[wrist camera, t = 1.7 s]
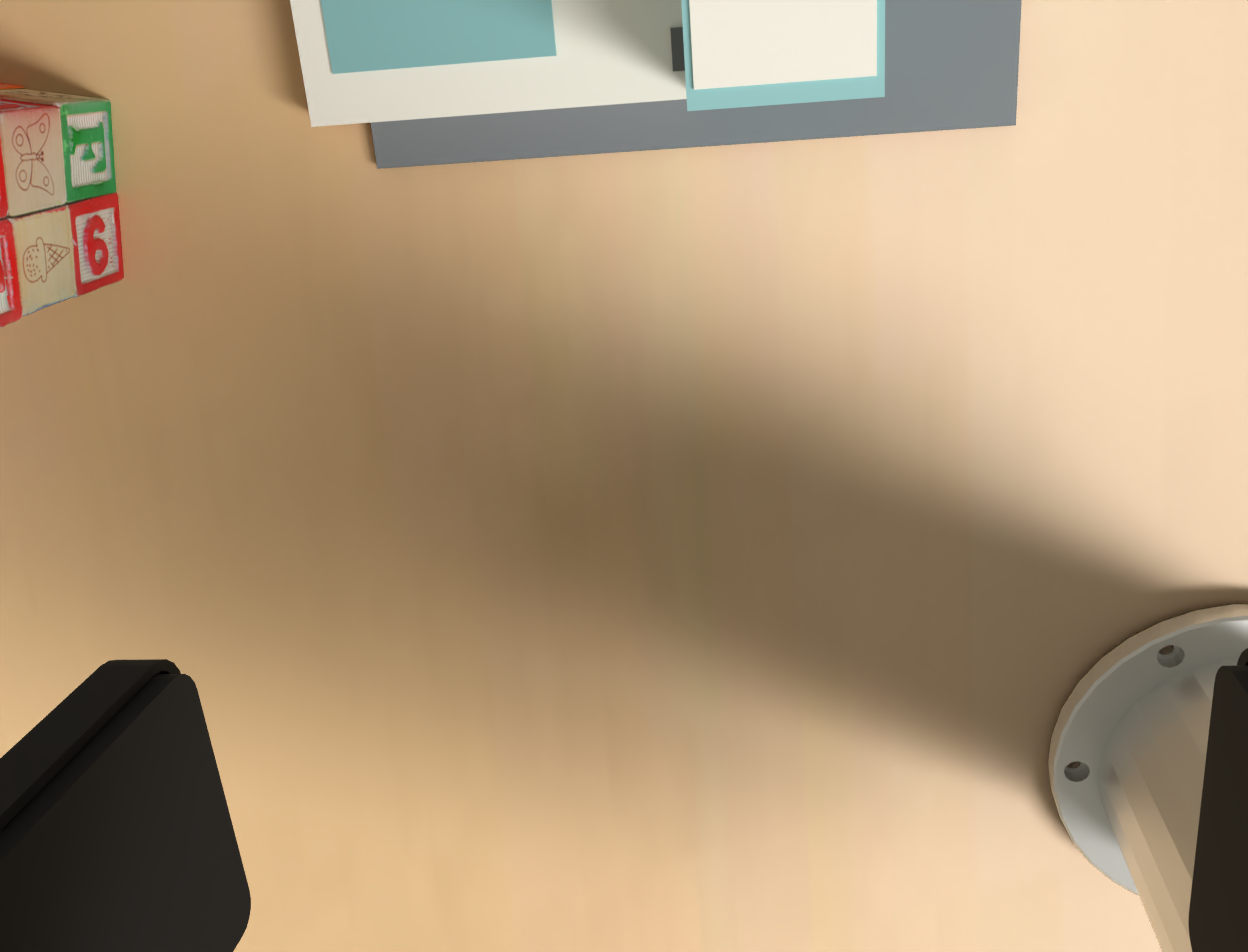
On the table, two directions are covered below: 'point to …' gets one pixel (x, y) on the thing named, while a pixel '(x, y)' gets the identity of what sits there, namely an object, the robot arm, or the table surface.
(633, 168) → the table surface
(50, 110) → the stack of blocks
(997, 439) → the table surface
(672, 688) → the table surface
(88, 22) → the table surface
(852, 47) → the teal rectangular block
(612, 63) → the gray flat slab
